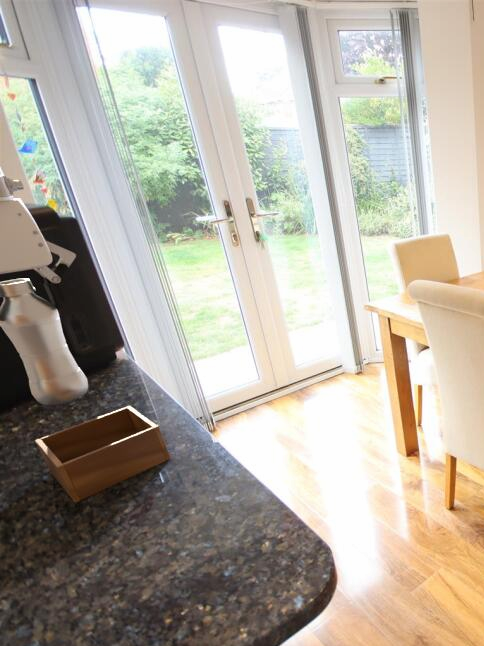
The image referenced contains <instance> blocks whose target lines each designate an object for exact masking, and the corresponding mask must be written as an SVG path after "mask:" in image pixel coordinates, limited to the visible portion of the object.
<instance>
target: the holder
mask: <svg viewBox="0 0 484 646" xmlns="http://www.w3.org/2000/svg"><path fill="white" fill-rule="evenodd" d="M34 442H35V444H36V446H37V449H38V450H39V452H40V454H41V456H42V458H43V460H44V462H45V464H46V466H47V468H48V470H49V472H50V474H51V475H52V476H53V477H54V479H55V480H56V481H57V482H58V484H59V485H60V486H61V487H62V489H63V490H64V491H65V493H66V494H67V495H68V496H69V498H71V500H72V501H73V503H74V504H75V503H76V504H77V503H78V502H80V501H82V500H85V499H86V498H87V499H88V498H89V497H91V496H94V495H95V494H98V493H100V492H102V491H105V490H106V489H108V488H111V487H113V486H115V485H117V484H120V483H122V482H123V481H126V480H128V479H131V478H132V477H135V476H137V475H140V474H141V473H143V472H146V471H147V470H149V469H152V468H154V467H156V466H158V465H161V464H163V463H165V462H166V461H169V460H172V459H171V456H170V453H169V451H168V448H167V445H166V442H165V439H164V437H163V435H162V431H161V429H160V427H159V425H158V424H156V423H155V422H153V421H152V420H150V419H149V418H148V417H146V416H145V415H144V414H142V413H141V412H139V411H138V410H136V409H135V408H134V407H132V406H131V405H128V406H125V407H122V408H119V409H117V410H113V411H111V412H109V413H106V414H103V415H100V416H97V417H95V418H92V419H89V420H87V421H84V422H81V423H79V424H76V425H73V426H70V427H67V428H65V429H61V430H59V431H56V432H53V433H51V434H48V435H45V436H43V437H40V438H37V439H34Z"/></svg>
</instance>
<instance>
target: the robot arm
mask: <svg viewBox="0 0 484 646" xmlns="http://www.w3.org/2000/svg"><path fill="white" fill-rule="evenodd" d="M24 187H25V186H24V184H23V182H22V181H21V179H13V178H9V177H7V175H5V174H4V171H3V170H2V167H1V166H0V275H4V274H9V273H10V274H11V273H15V272H23V271H28V270H34V271H36V272H37V273H38V274H39V275H40V276H41V277H43V287H44V289H45V291H46V294H47V296H48V299H49V300H50V303H51V304H52V305H53V306H54V307H55V308H56V309H57V310H63V309H65V307H64V302H67V300H66V299H67V298H66V296H65V294H64V292H63V290H62V287H61V285H60V282H61V280H62V278H63V277H64V276H65V274H66V273H67V271H68V270H69V267H71V265H72V264H73V262H74V260H75V259H76V257H77V254H76V253H75V252H73V251H71V250H68V249H66V248H64V247H61V246H59V245H57V244H55V243H52V242H50V241H48V240H46V239H45V237H44V236H43V234H42V231H41V230H40V228H39V226H38V224H37V222H36V220H35V219H34V217H33V215H32V214H31V212H30V210H29V209H28V208H27V206H26V204H25V203H24V202H23V200H22V199H21V198H17V197H16V198H15V197H14V195H15V194H14V193H15V192H18V191H19V190H20V191H21V190H24V189H25V188H24ZM52 253H53V254H55V255H57V256H59V259H58V261H57V262H56V263H55V264H54V266H53V267H52V268H50V267H48V266H49V265H50V264H52V262H53V255H52Z"/></svg>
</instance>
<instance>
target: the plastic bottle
mask: <svg viewBox="0 0 484 646" xmlns="http://www.w3.org/2000/svg"><path fill="white" fill-rule="evenodd" d="M36 291H37V290H36V288H35V287H34V286H33V283H32V281H31V280H30V278H16V279H9V280H4V281H0V298H3V301H2V303H1V305H0V327H1V328H2V330H3V331H4V333H5V335H6V336H7V337H8V338H9V340H10V341H11V343H12V344H13V346H14V348H15V349H16V351H17V353H18V354H19V357H20V358H21V360H22V363H23V366H24V368H25V372H26V374H27V378H28V386H29V389H30V392H31V395H32V396H33V398H34V399H35V400H36V401H37V402H38V403H39V404H42V405H45V406H54V405H55V406H56V405H60V404H65V403H68V402H72V401H74V400H76V399H79V398H81V397H82V396H84V395H85V394H87V392H88V389H89V381H88V378H87V376H86V375H85V373H84V372H83V370H82V369H81V367H79V365H78V363H77V362H76V360H75V358H74V356H73V355H72V353H71V351H70V349H69V346H68V344H67V340H66V338H65V335H64V332H63V331H64V330H63V327H62V322H61V318H60V313H59V309H57V308H55V307H54V306H53V305H52V303H51V302H49V301H48V300H47V299H44V298H43V297H41V296H39V295H37V294H36V293H35V292H36Z"/></svg>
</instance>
